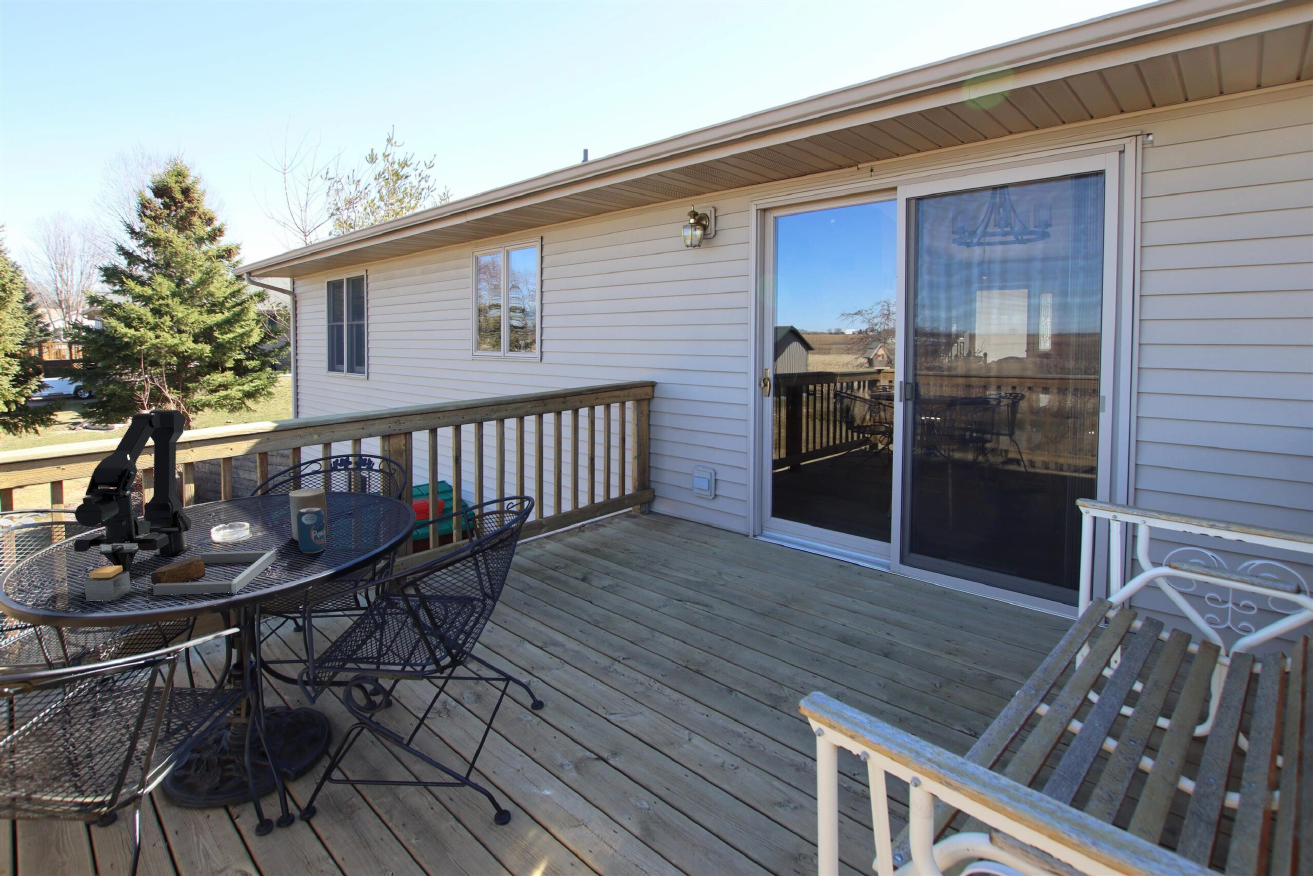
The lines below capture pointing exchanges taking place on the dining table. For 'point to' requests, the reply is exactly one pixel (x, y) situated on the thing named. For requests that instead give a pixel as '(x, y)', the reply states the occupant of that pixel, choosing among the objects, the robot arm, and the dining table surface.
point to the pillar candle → (306, 505)
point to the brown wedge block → (179, 571)
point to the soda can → (311, 529)
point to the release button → (105, 572)
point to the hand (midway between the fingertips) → (125, 575)
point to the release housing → (107, 587)
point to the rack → (261, 563)
